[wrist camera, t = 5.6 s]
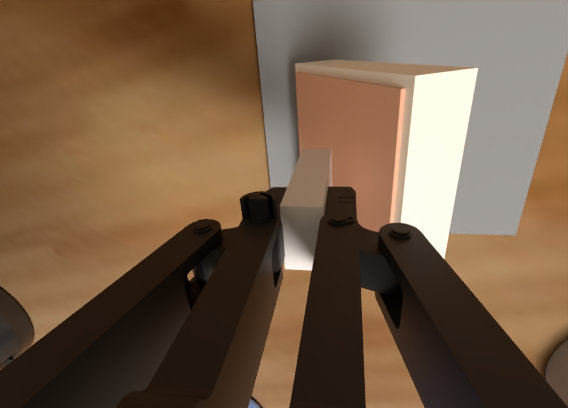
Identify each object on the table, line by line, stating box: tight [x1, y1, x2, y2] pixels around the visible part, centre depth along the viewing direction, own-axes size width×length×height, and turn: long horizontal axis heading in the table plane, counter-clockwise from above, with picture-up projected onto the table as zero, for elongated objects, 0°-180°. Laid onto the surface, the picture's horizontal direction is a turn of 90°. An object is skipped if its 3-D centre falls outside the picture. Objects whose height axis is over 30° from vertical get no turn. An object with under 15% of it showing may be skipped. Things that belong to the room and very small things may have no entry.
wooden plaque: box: [295, 59, 478, 258], centre depth 20 cm, size 3×10×12 cm, turn 4°
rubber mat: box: [253, 0, 568, 235], centre depth 25 cm, size 20×18×1 cm
